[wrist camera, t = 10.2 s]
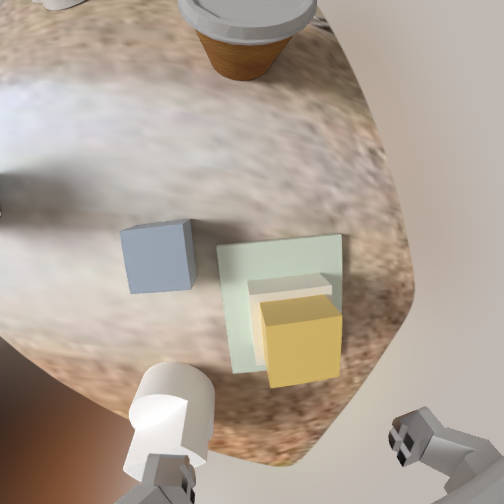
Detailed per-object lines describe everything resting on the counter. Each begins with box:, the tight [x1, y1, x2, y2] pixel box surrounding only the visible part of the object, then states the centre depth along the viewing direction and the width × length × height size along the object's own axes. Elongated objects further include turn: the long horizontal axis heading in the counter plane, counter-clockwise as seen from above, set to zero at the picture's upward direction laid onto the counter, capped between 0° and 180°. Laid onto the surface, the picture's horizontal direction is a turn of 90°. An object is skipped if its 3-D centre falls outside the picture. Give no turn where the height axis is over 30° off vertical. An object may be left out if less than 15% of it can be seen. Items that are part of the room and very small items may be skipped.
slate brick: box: [120, 219, 197, 294], centre depth 25 cm, size 6×6×4 cm
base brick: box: [247, 272, 332, 366], centre depth 26 cm, size 7×7×4 cm
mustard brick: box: [259, 294, 343, 388], centre depth 22 cm, size 6×6×4 cm
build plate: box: [216, 233, 342, 374], centre depth 29 cm, size 14×12×1 cm
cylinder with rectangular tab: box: [123, 362, 215, 482], centre depth 25 cm, size 9×9×12 cm
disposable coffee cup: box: [178, 0, 317, 81], centre depth 18 cm, size 10×10×12 cm
